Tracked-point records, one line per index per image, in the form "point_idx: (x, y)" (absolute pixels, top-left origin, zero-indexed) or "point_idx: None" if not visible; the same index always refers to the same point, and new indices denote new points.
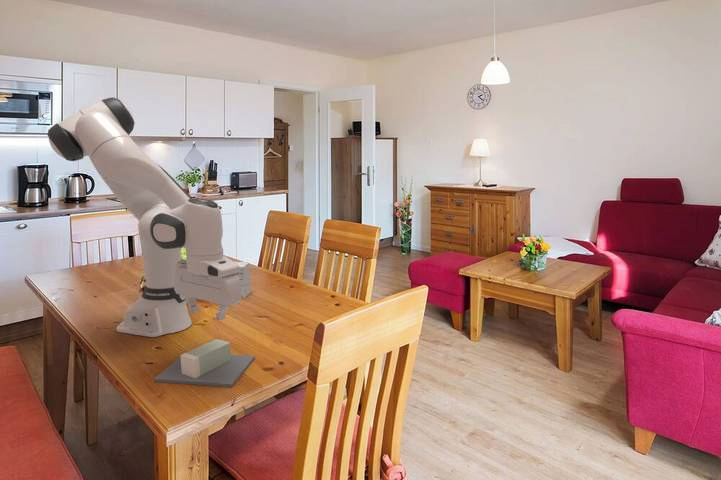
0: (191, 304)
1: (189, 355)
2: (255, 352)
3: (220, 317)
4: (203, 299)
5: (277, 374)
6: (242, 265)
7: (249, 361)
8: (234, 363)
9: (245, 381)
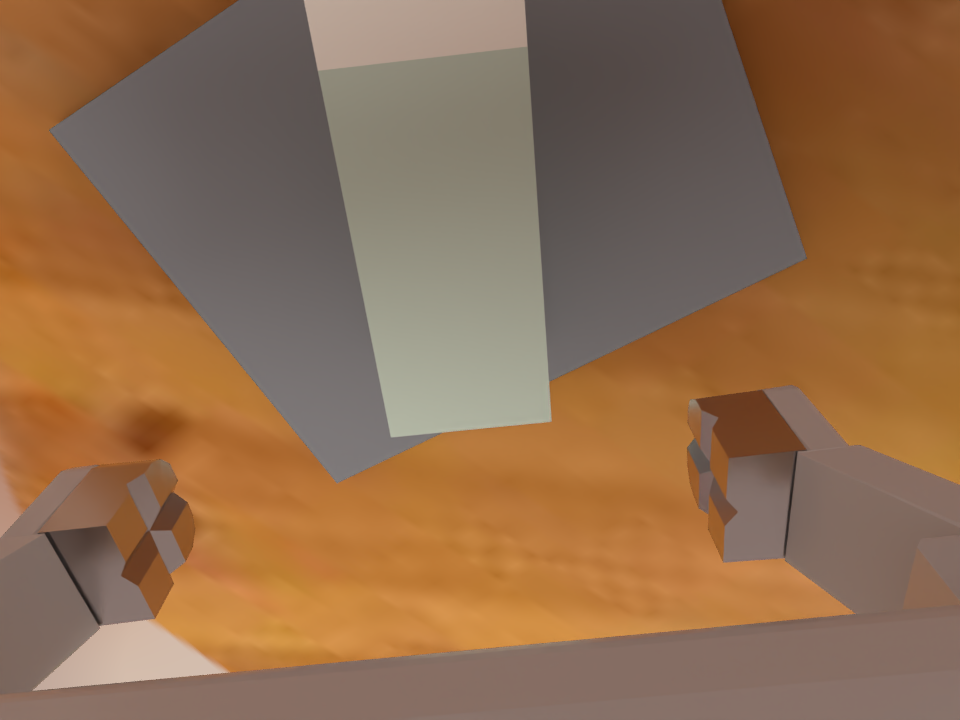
0: (831, 501)
1: (434, 34)
2: (413, 520)
3: (45, 498)
4: (245, 686)
5: (44, 418)
6: None
7: (288, 417)
8: (338, 344)
9: (86, 242)
